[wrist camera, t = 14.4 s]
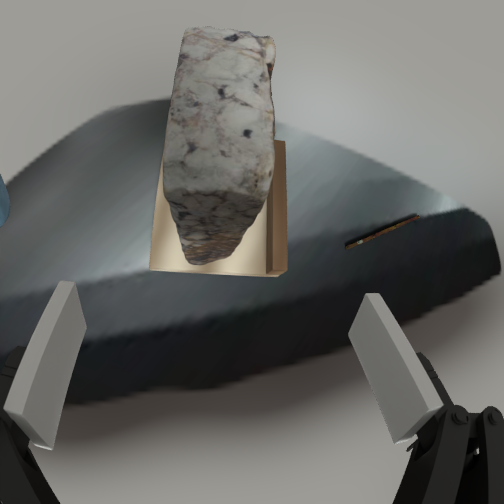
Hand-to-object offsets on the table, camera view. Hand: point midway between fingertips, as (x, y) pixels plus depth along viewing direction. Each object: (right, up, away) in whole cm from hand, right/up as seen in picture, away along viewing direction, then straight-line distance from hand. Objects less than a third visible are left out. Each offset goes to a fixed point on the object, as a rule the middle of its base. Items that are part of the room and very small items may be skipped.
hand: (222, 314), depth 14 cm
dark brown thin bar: (+21, +6, +31) cm, 37 cm away
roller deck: (-3, +7, +26) cm, 27 cm away
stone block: (-4, +7, +22) cm, 23 cm away
